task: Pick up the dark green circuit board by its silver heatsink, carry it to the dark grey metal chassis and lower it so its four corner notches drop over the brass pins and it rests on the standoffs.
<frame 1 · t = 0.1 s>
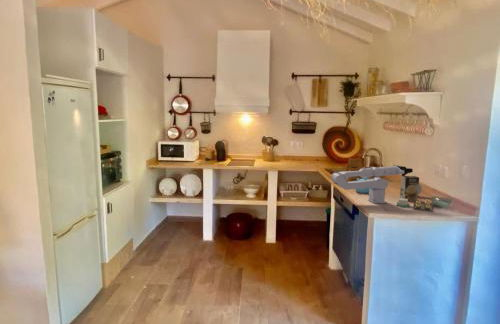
hand: (408, 169, 215), 22 cm above the countertop, tool horizontal, fingers open, 7 cm apart
teapot: (364, 191, 244), on the countertop
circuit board: (402, 205, 208), on the countertop
coffee package: (352, 185, 266), on the countertop
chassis: (422, 207, 203), on the countertop
coffee box: (408, 200, 222), on the countertop
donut: (413, 196, 233), on the countertop
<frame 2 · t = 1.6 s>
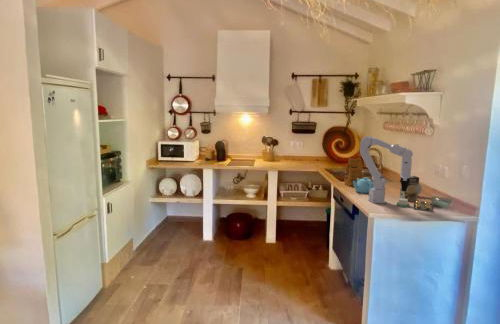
hand: (404, 190, 207), 10 cm above the countertop, tool pointing down, fingers open, 7 cm apart
nothing on the countertop moved.
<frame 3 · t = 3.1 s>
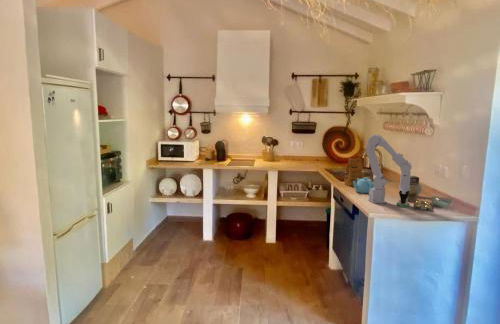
hand: (403, 202, 208), 2 cm above the countertop, tool pointing down, fingers closed on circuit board, 4 cm apart
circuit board: (402, 205, 208), on the countertop, touching gripper
everything else where it was.
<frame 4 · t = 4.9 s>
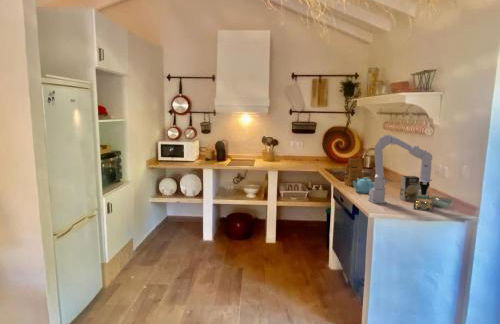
hand: (423, 193, 202), 9 cm above the countertop, tool pointing down, fingers closed on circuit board, 4 cm apart
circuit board: (422, 197, 203), point 7 cm above the countertop, touching gripper
everything else where it was.
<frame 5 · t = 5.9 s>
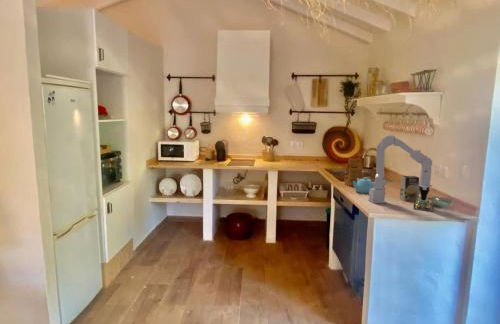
hand: (423, 199, 203), 5 cm above the countertop, tool pointing down, fingers closed on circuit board, 4 cm apart
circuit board: (422, 202, 203), point 3 cm above the countertop, touching gripper
everything else where it was.
when the fingers open (5 cm above the countertop, at t = 6.8 s): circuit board stays where it is, resting on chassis.
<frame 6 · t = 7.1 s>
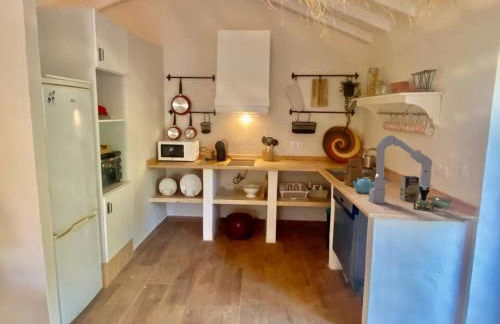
hand: (423, 199, 203), 6 cm above the countertop, tool pointing down, fingers open, 7 cm apart
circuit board: (422, 203, 203), point 3 cm above the countertop, touching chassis
everything else where it was.
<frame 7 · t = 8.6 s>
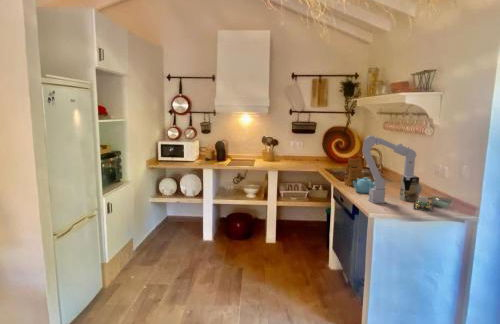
hand: (407, 189, 210), 10 cm above the countertop, tool pointing down, fingers open, 7 cm apart
nothing on the countertop moved.
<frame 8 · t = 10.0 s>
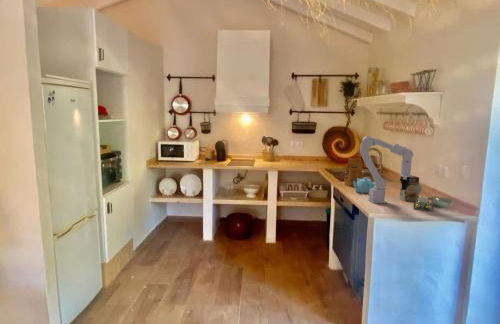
hand: (404, 188, 211), 10 cm above the countertop, tool pointing down, fingers open, 7 cm apart
nothing on the countertop moved.
at the end: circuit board 0.2 cm off-centre on the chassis, point 2.8 cm above the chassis's base; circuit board tilted 0°; the gripper is holding nothing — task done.
